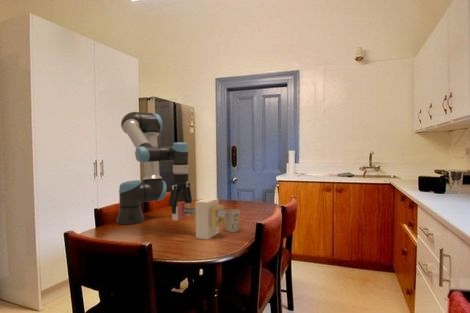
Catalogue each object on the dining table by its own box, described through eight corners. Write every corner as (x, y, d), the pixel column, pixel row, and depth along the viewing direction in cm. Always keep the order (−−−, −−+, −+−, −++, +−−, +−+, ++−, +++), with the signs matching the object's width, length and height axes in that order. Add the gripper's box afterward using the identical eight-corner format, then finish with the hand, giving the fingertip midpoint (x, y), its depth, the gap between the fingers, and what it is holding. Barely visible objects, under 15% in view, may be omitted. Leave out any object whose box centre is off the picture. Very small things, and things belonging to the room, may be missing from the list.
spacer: (211, 227, 135) (211, 208, 135) (220, 223, 144) (219, 204, 143) (215, 228, 135) (215, 208, 134) (223, 223, 143) (223, 205, 143)
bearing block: (195, 238, 137) (195, 201, 137) (208, 231, 148) (207, 197, 148) (207, 239, 135) (207, 202, 134) (218, 232, 146) (218, 198, 145)
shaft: (175, 218, 147) (175, 202, 147) (178, 217, 149) (178, 201, 149) (224, 223, 136) (224, 206, 136) (226, 221, 139) (226, 205, 139)
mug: (228, 233, 144) (228, 213, 144) (218, 227, 155) (218, 208, 155) (243, 231, 148) (243, 211, 148) (232, 225, 159) (232, 207, 159)
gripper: (173, 175, 135) (174, 223, 135) (198, 172, 155) (198, 214, 156) (160, 174, 138) (161, 222, 138) (186, 171, 158) (186, 212, 159)
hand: (181, 217), depth 147 cm, fingers open, 10 cm apart
